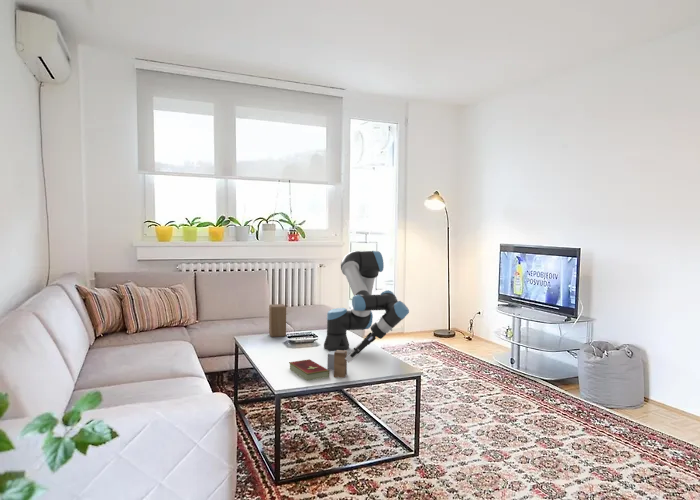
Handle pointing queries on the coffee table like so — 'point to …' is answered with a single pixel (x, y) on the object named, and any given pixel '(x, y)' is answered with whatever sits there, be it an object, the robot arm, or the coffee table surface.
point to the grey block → (330, 360)
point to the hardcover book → (309, 369)
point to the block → (277, 320)
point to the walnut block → (340, 363)
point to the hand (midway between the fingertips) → (350, 356)
